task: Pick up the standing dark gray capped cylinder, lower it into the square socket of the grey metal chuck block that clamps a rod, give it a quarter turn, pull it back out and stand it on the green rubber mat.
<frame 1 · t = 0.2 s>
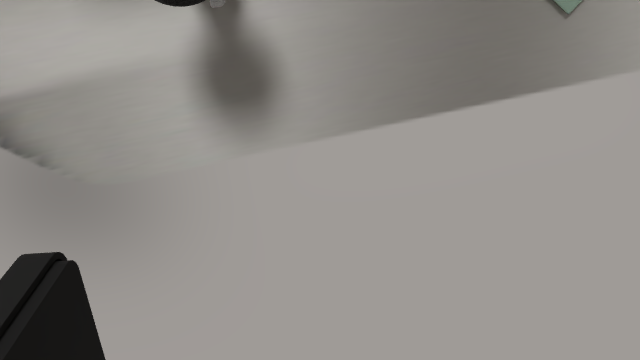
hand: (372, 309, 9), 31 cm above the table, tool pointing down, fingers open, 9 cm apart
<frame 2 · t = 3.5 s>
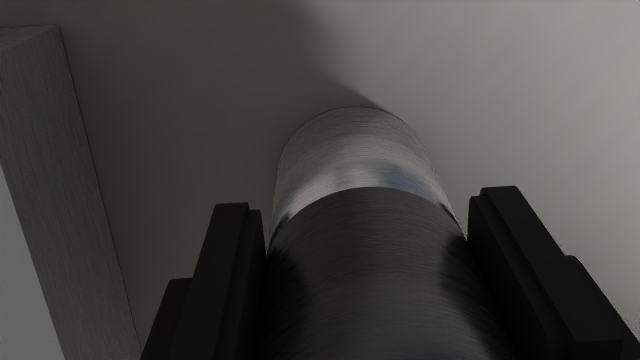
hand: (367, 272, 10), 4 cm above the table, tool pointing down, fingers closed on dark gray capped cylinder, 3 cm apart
dark gray capped cylinder: (353, 179, 14), on the table, touching gripper
when the fingers open (5 cm above the table, at t = 14.1 s): dark gray capped cylinder drops 1 cm, resting on mat.
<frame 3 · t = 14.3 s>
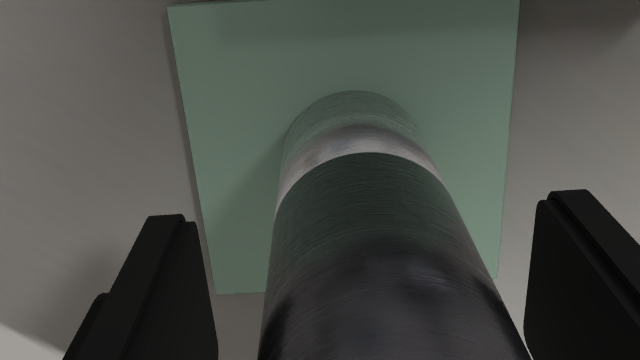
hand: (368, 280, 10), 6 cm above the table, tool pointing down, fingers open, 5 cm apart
dark gray capped cylinder: (352, 159, 15), resting on mat
mat: (349, 151, 15), on the table
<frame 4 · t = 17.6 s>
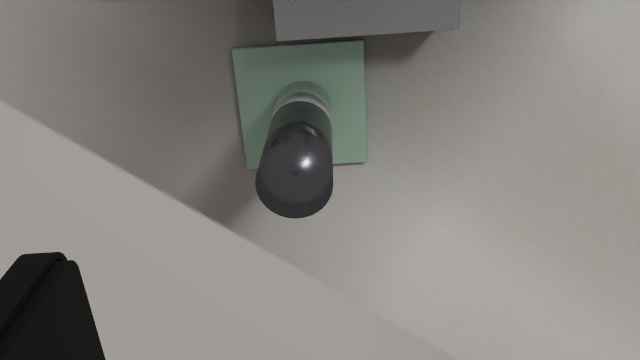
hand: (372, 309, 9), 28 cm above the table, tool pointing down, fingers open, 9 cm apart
dark gray capped cylinder: (303, 108, 37), resting on mat
mat: (302, 106, 38), on the table
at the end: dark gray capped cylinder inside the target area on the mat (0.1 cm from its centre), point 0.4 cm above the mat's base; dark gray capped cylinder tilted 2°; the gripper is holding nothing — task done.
